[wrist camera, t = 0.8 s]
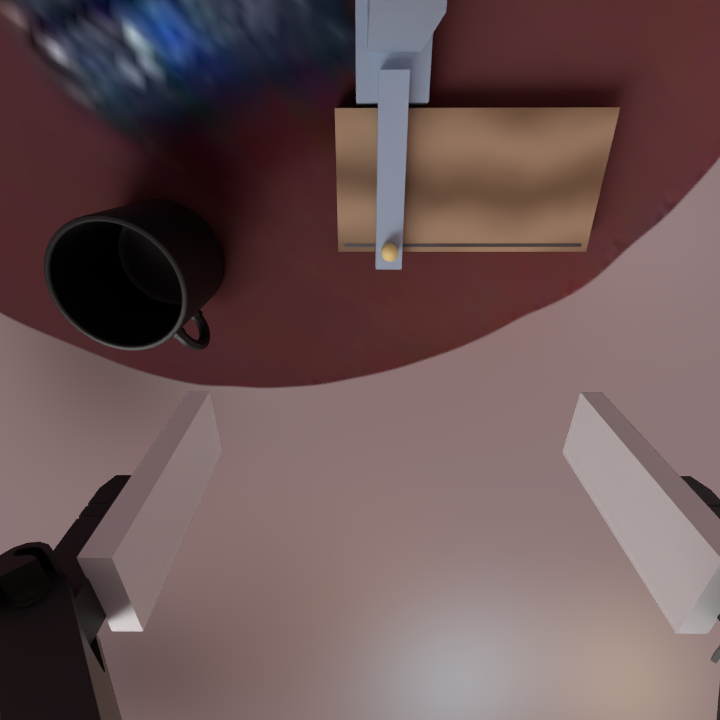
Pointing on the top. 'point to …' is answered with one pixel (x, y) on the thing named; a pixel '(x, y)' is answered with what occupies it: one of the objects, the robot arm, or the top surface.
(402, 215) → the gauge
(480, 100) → the top surface
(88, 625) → the robot arm
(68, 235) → the mug
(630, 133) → the top surface
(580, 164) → the board
